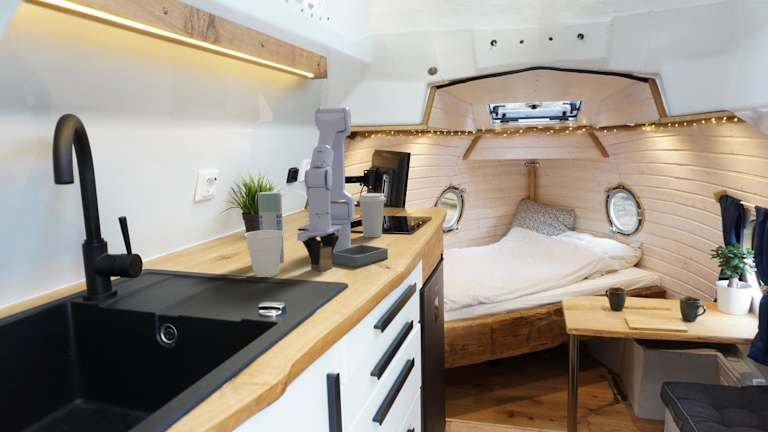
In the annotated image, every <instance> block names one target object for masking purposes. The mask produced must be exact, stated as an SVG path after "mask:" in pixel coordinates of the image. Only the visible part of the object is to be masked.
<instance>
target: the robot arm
mask: <svg viewBox="0 0 768 432" xmlns="http://www.w3.org/2000/svg"><path fill="white" fill-rule="evenodd" d="M314 123H315V124H314V125H315V126H316V127H317V131H319V135H318V146H315V147H314V148H313V151H312V154H311V161H310V165H309V168H308V169H306V170H305V172H304V177H303V179H304V186H305V193H306V197H307V201H308V202H307V203H308V221H309V222H308V223H309V224H308V225H309V227H308V228H309V229H306V230H303V231H300V232H297V233H296V236H297V237H296V238H297V239H296V240H297V241H299V242H302V244H303V246H304V247H305V248H306V249H305V250H306V251H307V254H308V255H309V259H310V264H311V263H312V265H319V251H320V246H321V245H324V246H330V247H331V248H332V254H333V251H337V250H341V249H345V248H349V247H352V237H351V234H352V233H351V231H352V230H351V222H353V221H354V220H355V217H356V204H355V197H354V196H353V195H352V194H350V193H349V192H348V191H347V190H346V176H345V175H346V174H345V173H346V170H345V169H346V168H345V167H346V166H345V164H346V159H345V151H346V150H345V142H346V137H348V136H350V135H351V132H352V115H351V110H350V108H349V107H348V106H341V107H340V106H339V107H336V106H335V107H318V106H317V108H316V109H315V111H314ZM318 238H319V239H318Z"/></svg>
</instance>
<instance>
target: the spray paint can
mask: <svg viewBox="0 0 768 432" xmlns="http://www.w3.org/2000/svg"><path fill="white" fill-rule="evenodd" d="M282 197H283V196H282V192H281V191H261V192H258V194H257V205H258V220H259V231H261V230H278V231H282V232H284V226H283V225H284V224H283V222H284V221H283V220H284V219H283V199H282ZM284 246H285V245H284V237H283V238H282V247H281V255H280V262H279V265H280V264H282V263H284V262H285V250H284Z"/></svg>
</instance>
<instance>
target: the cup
mask: <svg viewBox="0 0 768 432" xmlns="http://www.w3.org/2000/svg"><path fill="white" fill-rule="evenodd" d="M284 234H285V233H284V231H283V232H282V231H278V230H261V231H260V230H254V231H249V232H246V233H244V237H245V240H246V245H247V249H248V253H249V257H250V261H251V266H252V271H253V275H254V276H255V277H256V278H259V277H268V278H273V277H275V276H277V275H278V274H279V272H280V271H279V270H280V264H279V262H280V255H281V247H282V238H283V239H284Z"/></svg>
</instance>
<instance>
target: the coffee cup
mask: <svg viewBox="0 0 768 432" xmlns="http://www.w3.org/2000/svg"><path fill="white" fill-rule="evenodd" d="M385 201H386V198H385V196H384V194H383V193H378V192H374V193H373V192H369V193H368V192H367V193H361V194H360V195H359V197H358V202H359V208H360V215H361V216H360V217H361V223H362V224H361V225H362V233H363V234H362V235H363V237H364V238H368V237H375V238H380V236H381V237H382V235H383V220H384V217H383V216H384V206H385Z"/></svg>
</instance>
